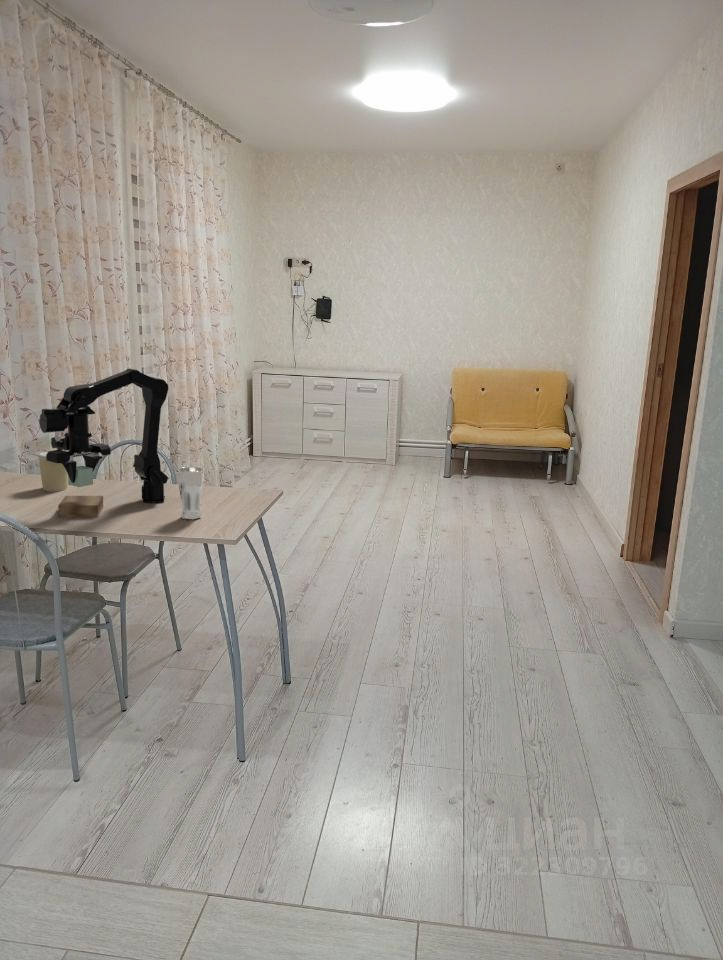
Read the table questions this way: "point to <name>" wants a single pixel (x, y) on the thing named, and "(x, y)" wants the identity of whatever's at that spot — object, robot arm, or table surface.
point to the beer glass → (190, 491)
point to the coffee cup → (52, 474)
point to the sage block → (82, 476)
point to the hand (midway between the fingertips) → (80, 480)
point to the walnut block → (80, 506)
